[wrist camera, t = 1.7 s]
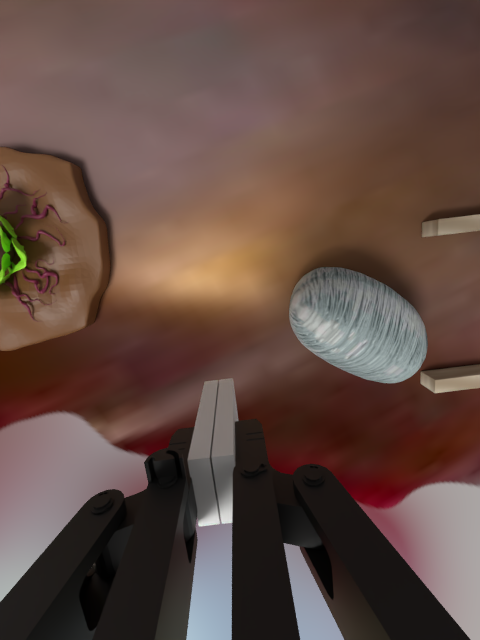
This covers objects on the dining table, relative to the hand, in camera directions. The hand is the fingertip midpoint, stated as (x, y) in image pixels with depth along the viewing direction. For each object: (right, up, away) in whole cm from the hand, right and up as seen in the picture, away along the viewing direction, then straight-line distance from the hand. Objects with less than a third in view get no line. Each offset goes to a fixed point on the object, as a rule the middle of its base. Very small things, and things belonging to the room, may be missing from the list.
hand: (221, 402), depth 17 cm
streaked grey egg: (+12, +5, +16) cm, 21 cm away
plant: (-22, +12, +14) cm, 29 cm away
